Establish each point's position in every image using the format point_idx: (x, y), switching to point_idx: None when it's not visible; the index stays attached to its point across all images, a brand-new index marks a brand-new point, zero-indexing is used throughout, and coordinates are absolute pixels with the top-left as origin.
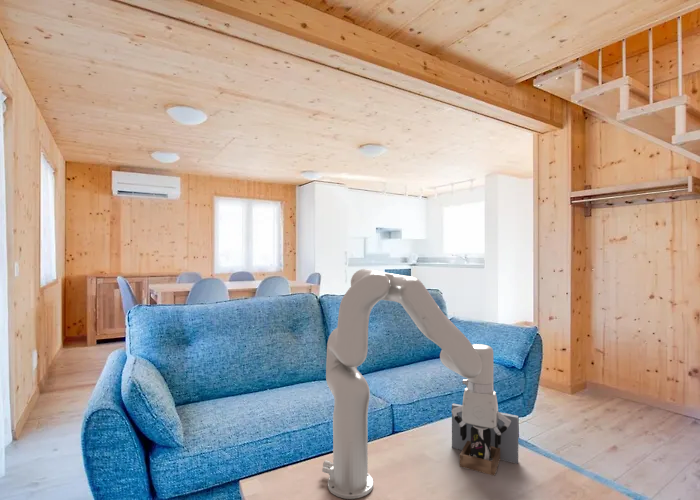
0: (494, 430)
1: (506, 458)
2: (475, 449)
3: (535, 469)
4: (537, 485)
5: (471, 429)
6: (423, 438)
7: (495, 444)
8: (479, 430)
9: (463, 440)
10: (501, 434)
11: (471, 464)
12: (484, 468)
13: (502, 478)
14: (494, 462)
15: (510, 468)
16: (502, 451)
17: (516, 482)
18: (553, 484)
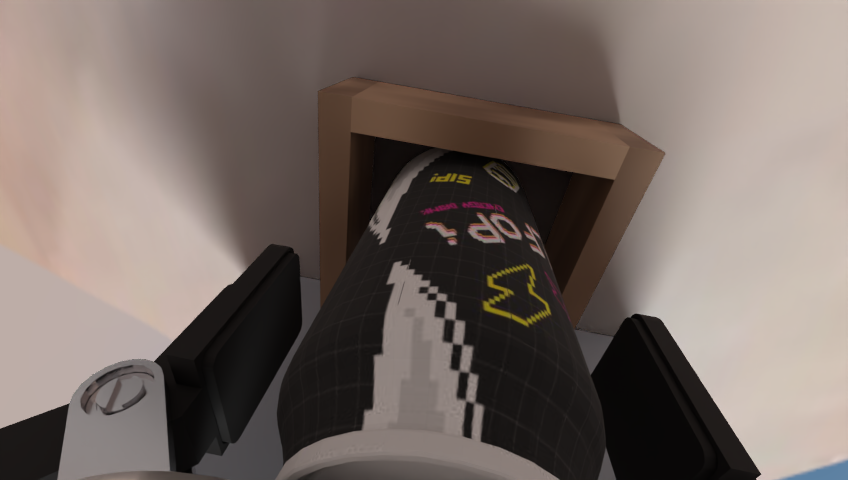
0: (165, 436)
1: (305, 287)
2: (504, 204)
3: (159, 238)
4: (79, 55)
5: (603, 438)
6: (813, 397)
7: (273, 268)
8: (446, 407)
9: (635, 316)
10: (262, 429)
11: (532, 117)
12: (423, 96)
13: (298, 61)
14: (323, 114)
15: (277, 209)
16: (314, 318)
17: (201, 40)
18: (18, 107)
